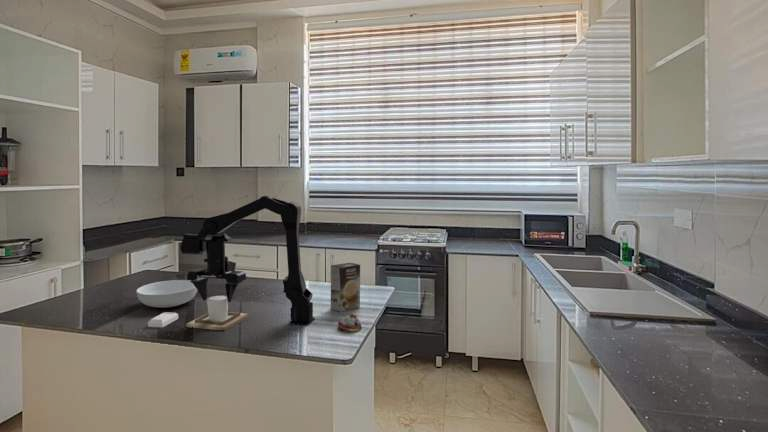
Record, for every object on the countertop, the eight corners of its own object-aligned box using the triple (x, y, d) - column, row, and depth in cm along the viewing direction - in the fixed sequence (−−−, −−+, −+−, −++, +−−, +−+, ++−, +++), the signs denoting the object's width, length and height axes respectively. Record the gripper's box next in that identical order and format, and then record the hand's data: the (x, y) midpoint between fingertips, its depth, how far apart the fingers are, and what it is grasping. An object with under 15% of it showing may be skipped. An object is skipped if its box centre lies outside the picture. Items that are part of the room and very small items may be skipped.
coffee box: (341, 312, 157) (341, 268, 156) (330, 308, 162) (329, 265, 160) (360, 307, 164) (360, 264, 162) (349, 303, 168) (349, 261, 167)
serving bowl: (128, 304, 166) (127, 286, 166) (185, 293, 181) (184, 277, 181) (149, 317, 152) (148, 297, 151) (208, 304, 167) (207, 286, 167)
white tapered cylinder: (222, 313, 152) (221, 293, 151) (233, 318, 147) (232, 297, 147) (203, 318, 146) (202, 298, 146) (214, 323, 142) (213, 302, 141)
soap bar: (148, 328, 142) (147, 320, 142) (164, 318, 151) (164, 311, 151) (162, 328, 142) (162, 320, 141) (178, 319, 150) (178, 311, 150)
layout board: (248, 316, 152) (248, 311, 152) (224, 330, 139) (224, 325, 138) (212, 313, 156) (212, 308, 155) (186, 326, 142) (185, 321, 142)
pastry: (362, 332, 138) (362, 316, 137) (338, 333, 137) (338, 318, 136) (360, 324, 146) (359, 309, 145) (337, 325, 145) (337, 310, 144)
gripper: (254, 251, 151) (255, 296, 152) (206, 249, 155) (207, 293, 156) (235, 257, 140) (237, 306, 141) (184, 254, 144) (186, 301, 146)
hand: (217, 301), depth 146 cm, fingers open, 9 cm apart
